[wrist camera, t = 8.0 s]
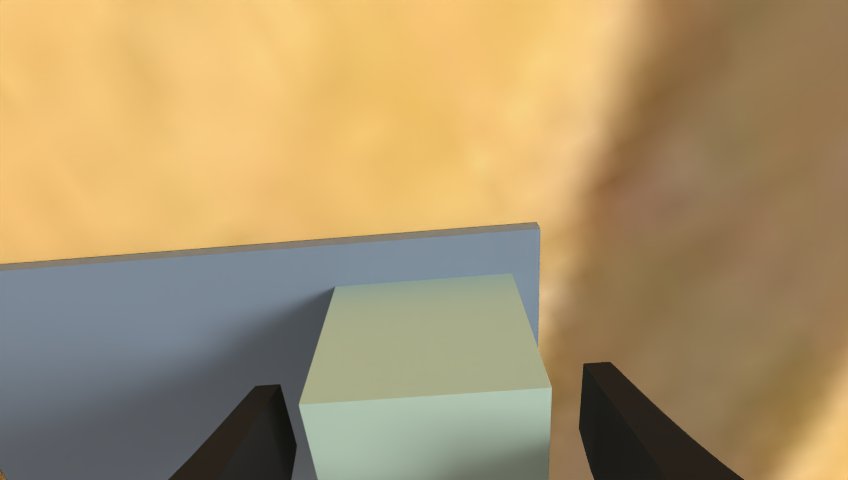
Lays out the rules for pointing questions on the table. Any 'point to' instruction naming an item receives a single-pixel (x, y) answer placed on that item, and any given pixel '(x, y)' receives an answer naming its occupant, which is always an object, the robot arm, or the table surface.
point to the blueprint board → (195, 340)
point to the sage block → (428, 384)
